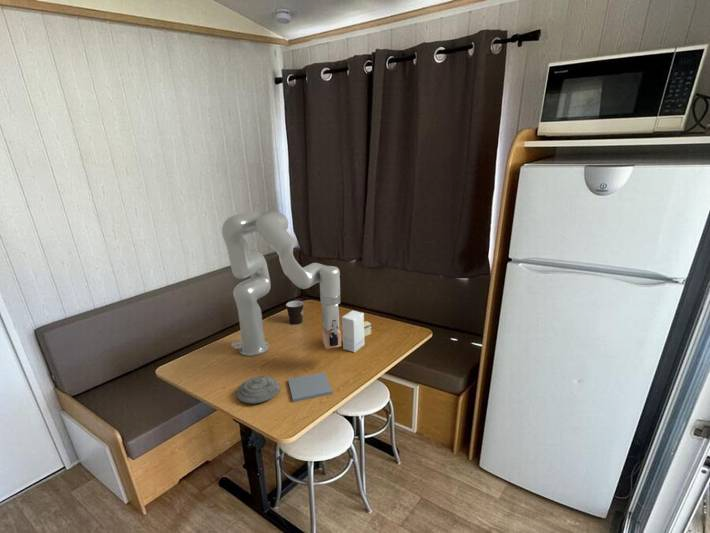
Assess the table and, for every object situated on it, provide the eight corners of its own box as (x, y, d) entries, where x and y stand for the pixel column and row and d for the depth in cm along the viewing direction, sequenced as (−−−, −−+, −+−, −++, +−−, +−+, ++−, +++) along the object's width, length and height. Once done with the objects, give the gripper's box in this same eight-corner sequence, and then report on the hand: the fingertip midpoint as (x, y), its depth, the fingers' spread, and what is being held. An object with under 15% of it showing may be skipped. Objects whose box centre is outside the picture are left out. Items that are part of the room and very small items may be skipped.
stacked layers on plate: (367, 328, 182) (366, 318, 180) (377, 335, 174) (377, 325, 173) (349, 334, 177) (348, 323, 176) (358, 341, 170) (358, 330, 168)
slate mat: (293, 402, 128) (292, 399, 128) (288, 381, 140) (288, 379, 140) (332, 393, 132) (332, 391, 132) (324, 374, 144) (324, 372, 144)
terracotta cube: (326, 348, 144) (325, 334, 142) (322, 341, 149) (322, 327, 147) (341, 346, 145) (340, 332, 143) (337, 339, 151) (337, 325, 149)
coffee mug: (296, 326, 186) (295, 308, 183) (284, 323, 190) (282, 305, 188) (311, 318, 195) (310, 300, 192) (299, 315, 200) (297, 297, 197)
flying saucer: (254, 378, 144) (253, 365, 142) (288, 386, 138) (286, 373, 136) (227, 401, 130) (225, 387, 129) (263, 410, 125) (261, 396, 123)
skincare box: (353, 341, 169) (352, 309, 165) (365, 345, 165) (364, 312, 161) (342, 349, 163) (340, 316, 158) (354, 353, 159) (353, 319, 154)
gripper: (316, 292, 148) (318, 333, 154) (325, 308, 133) (327, 353, 138) (334, 290, 151) (335, 330, 156) (346, 305, 135) (347, 350, 140)
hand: (331, 341), depth 147 cm, fingers closed on terracotta cube, 6 cm apart
